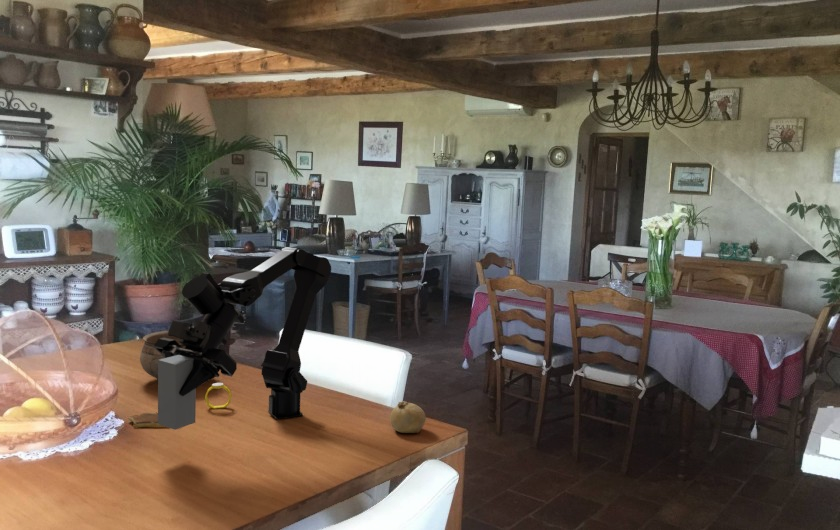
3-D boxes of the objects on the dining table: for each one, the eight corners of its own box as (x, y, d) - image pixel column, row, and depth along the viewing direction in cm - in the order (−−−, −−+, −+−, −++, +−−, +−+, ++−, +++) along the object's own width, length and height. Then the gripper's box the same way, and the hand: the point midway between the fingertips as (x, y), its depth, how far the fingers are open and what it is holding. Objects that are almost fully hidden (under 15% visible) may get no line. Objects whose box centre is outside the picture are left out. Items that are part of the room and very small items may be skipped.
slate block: (178, 416, 144) (178, 354, 142) (195, 422, 141) (196, 359, 139) (157, 423, 139) (158, 359, 137) (175, 429, 137) (175, 364, 135)
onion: (404, 422, 166) (405, 393, 165) (431, 430, 161) (433, 400, 160) (382, 431, 159) (383, 401, 158) (411, 440, 155) (412, 408, 154)
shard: (181, 429, 157) (181, 421, 157) (149, 437, 152) (149, 429, 151) (155, 417, 164) (155, 409, 164) (123, 425, 158) (123, 417, 158)
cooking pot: (149, 369, 203) (149, 327, 201) (217, 368, 206) (218, 327, 205) (130, 395, 178) (130, 348, 177) (208, 393, 182) (208, 347, 180)
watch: (231, 405, 173) (231, 382, 172) (230, 409, 170) (230, 385, 170) (206, 406, 172) (206, 382, 171) (204, 410, 169) (204, 385, 168)
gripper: (160, 299, 145) (114, 362, 137) (226, 310, 136) (180, 378, 128) (190, 330, 153) (148, 391, 145) (255, 342, 144) (213, 409, 135)
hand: (171, 392), depth 138 cm, fingers closed on slate block, 5 cm apart
